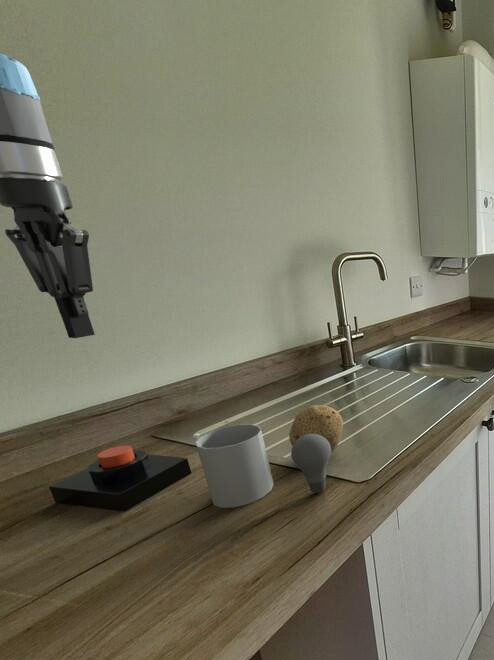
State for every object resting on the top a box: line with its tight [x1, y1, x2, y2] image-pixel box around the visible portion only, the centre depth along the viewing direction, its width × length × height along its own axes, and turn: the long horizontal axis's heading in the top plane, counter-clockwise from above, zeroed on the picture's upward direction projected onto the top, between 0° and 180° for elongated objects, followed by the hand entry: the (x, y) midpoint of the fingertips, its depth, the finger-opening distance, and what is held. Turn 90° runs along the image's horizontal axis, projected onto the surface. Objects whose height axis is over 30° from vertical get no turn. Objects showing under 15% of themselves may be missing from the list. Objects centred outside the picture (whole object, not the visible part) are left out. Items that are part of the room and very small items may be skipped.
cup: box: [195, 423, 275, 509], centre depth 64 cm, size 8×8×10 cm
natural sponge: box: [288, 404, 344, 454], centre depth 75 cm, size 9×9×10 cm
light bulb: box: [290, 434, 332, 494], centre depth 64 cm, size 6×6×10 cm
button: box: [97, 445, 135, 468], centre depth 65 cm, size 4×4×2 cm
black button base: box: [48, 449, 192, 513], centre depth 66 cm, size 13×11×5 cm
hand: (82, 336), depth 68 cm, fingers closed
